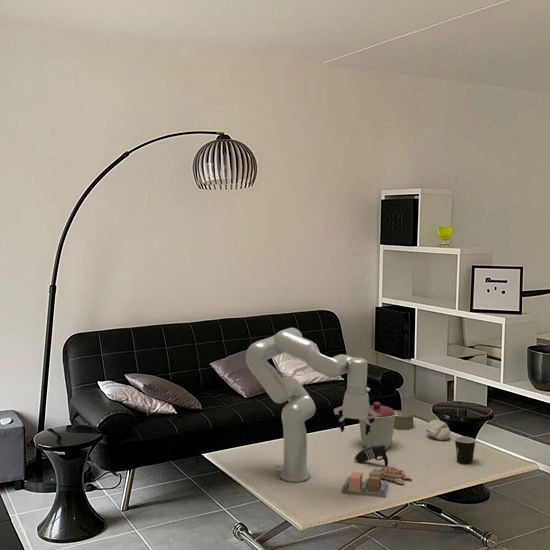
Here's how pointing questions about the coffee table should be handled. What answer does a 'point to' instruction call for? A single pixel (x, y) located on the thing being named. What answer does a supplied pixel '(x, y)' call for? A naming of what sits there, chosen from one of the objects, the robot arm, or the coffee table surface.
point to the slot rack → (366, 489)
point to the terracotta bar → (355, 481)
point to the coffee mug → (464, 450)
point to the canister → (378, 427)
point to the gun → (372, 454)
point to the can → (403, 420)
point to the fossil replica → (438, 430)
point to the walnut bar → (374, 481)
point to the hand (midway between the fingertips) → (354, 432)
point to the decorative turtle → (392, 474)
